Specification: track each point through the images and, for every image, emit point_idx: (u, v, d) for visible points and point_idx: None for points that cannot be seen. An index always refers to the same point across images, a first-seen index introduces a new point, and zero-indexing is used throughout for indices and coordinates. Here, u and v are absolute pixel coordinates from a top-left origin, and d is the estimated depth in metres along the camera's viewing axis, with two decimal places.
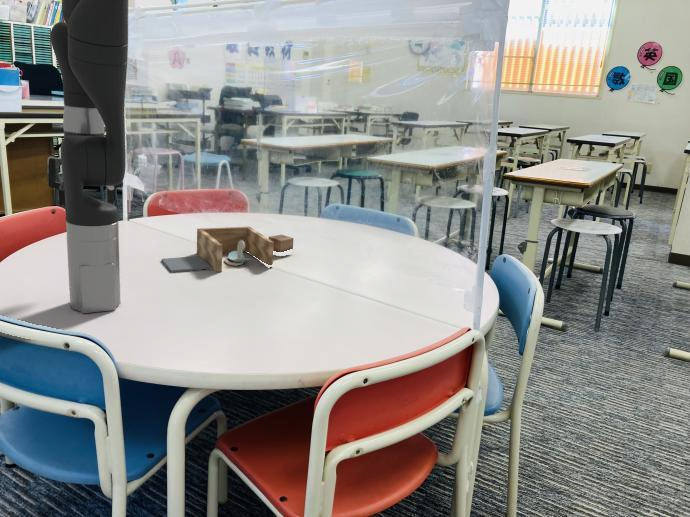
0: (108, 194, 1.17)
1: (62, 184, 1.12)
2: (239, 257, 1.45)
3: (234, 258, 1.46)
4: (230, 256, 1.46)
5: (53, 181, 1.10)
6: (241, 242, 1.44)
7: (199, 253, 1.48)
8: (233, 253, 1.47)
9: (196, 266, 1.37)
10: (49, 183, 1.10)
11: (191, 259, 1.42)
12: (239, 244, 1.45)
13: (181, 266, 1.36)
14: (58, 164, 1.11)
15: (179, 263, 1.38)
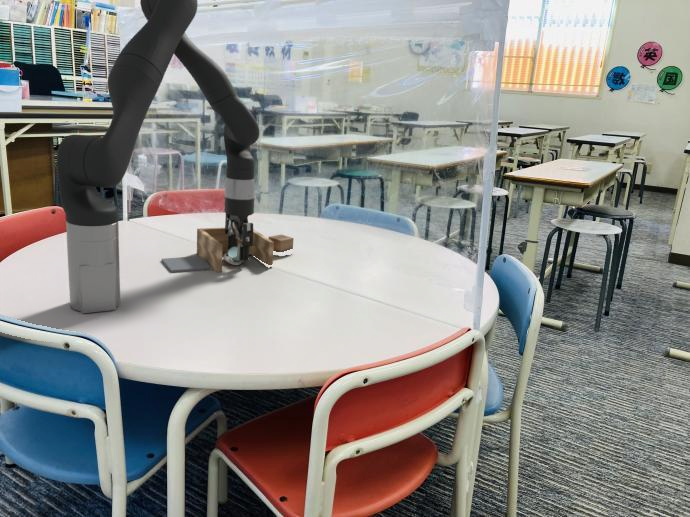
0: None
1: None
2: (238, 256, 1.44)
3: (233, 255, 1.45)
4: (229, 252, 1.45)
5: None
6: None
7: (199, 253, 1.48)
8: (233, 249, 1.47)
9: (196, 266, 1.37)
10: None
11: (191, 259, 1.42)
12: None
13: (181, 266, 1.36)
14: None
15: (179, 263, 1.38)
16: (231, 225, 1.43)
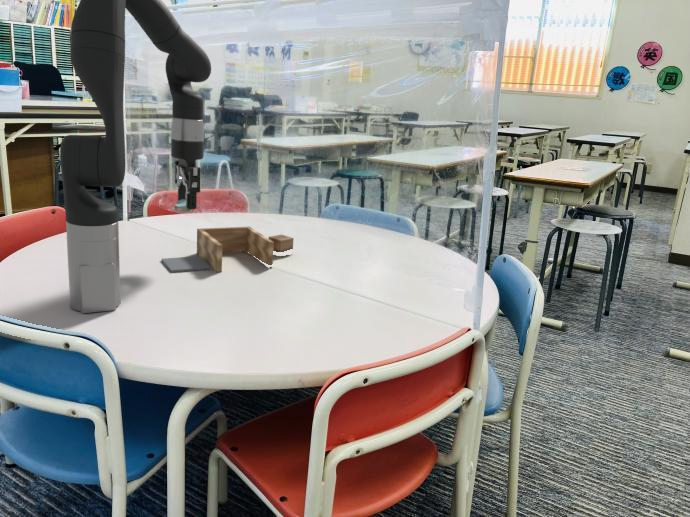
0: None
1: None
2: None
3: (182, 206, 1.35)
4: (178, 204, 1.36)
5: None
6: None
7: (199, 253, 1.48)
8: (182, 201, 1.37)
9: (196, 266, 1.37)
10: None
11: (191, 259, 1.42)
12: None
13: (181, 266, 1.36)
14: None
15: (179, 263, 1.38)
16: (179, 171, 1.33)
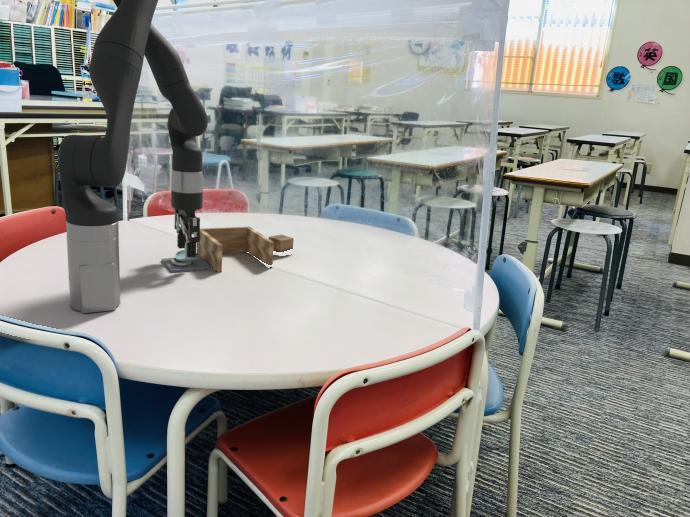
0: None
1: None
2: (186, 257, 1.38)
3: (181, 258, 1.39)
4: (177, 256, 1.39)
5: None
6: None
7: (199, 253, 1.48)
8: (181, 252, 1.41)
9: (196, 266, 1.37)
10: (199, 238, 1.32)
11: None
12: (186, 243, 1.38)
13: (181, 266, 1.36)
14: None
15: None
16: (179, 220, 1.36)
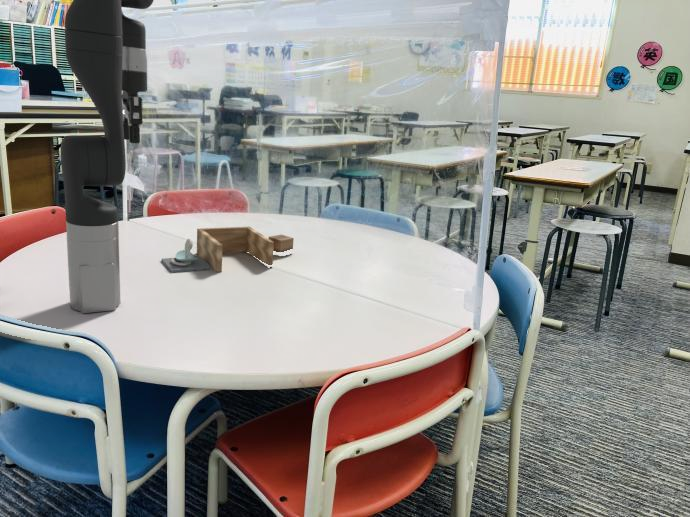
0: None
1: None
2: (186, 257, 1.38)
3: (181, 258, 1.39)
4: (177, 256, 1.39)
5: None
6: (188, 241, 1.37)
7: (199, 253, 1.48)
8: (181, 253, 1.41)
9: (196, 266, 1.37)
10: None
11: None
12: (186, 243, 1.38)
13: (181, 266, 1.36)
14: None
15: None
16: (122, 105, 1.27)
